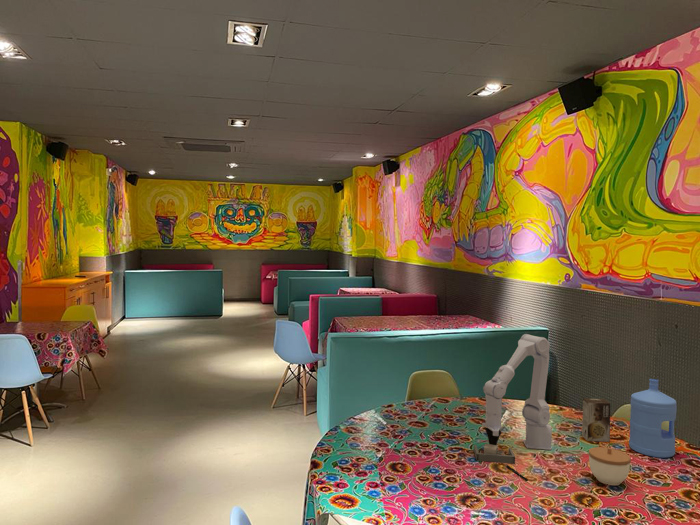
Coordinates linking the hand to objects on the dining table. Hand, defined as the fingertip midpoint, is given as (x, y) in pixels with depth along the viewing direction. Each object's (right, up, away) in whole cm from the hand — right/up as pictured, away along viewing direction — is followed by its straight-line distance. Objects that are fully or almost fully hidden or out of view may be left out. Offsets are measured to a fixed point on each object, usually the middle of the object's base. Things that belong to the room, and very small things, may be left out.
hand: (492, 448), depth 193 cm
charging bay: (-1, -2, -3) cm, 4 cm away
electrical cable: (+3, -3, -17) cm, 18 cm away
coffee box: (+48, -3, +18) cm, 51 cm away
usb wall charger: (0, -2, -4) cm, 4 cm away
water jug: (+64, -4, +7) cm, 65 cm away
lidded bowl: (+33, -3, -21) cm, 40 cm away
